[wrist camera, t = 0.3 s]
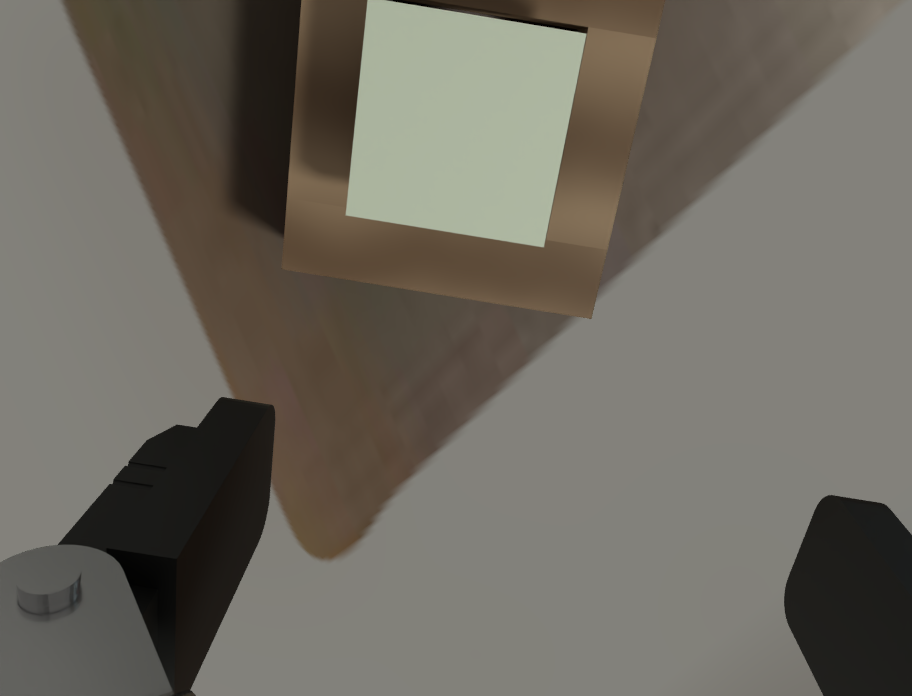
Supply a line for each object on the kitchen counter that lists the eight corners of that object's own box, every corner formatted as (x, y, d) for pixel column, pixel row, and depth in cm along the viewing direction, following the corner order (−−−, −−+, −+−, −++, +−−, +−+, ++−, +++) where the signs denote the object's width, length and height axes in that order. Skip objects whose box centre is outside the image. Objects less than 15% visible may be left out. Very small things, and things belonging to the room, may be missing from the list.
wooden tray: (330, -96, 33) (309, -114, 29) (656, -41, 33) (677, -52, 29) (302, 247, 38) (281, 269, 34) (581, 292, 38) (591, 318, 35)
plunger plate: (372, -1, 28) (368, -3, 27) (583, 34, 29) (586, 33, 28) (350, 210, 31) (345, 215, 30) (542, 241, 31) (543, 247, 30)
